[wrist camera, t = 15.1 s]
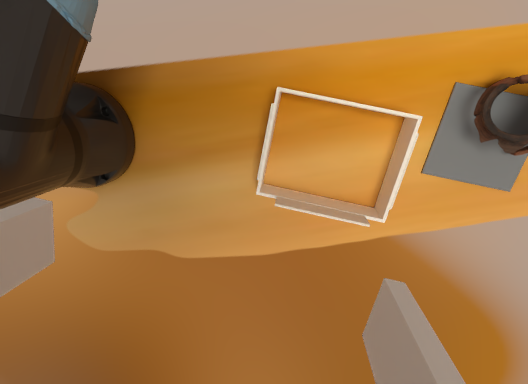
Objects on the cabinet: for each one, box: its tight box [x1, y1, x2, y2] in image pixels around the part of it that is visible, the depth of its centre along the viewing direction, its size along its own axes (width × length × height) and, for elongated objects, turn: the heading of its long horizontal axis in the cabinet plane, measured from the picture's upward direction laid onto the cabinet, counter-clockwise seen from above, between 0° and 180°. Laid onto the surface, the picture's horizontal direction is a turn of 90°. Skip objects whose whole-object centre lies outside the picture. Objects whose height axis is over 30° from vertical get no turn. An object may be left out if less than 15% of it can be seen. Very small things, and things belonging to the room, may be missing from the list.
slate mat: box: [421, 82, 528, 192], centre depth 38 cm, size 12×12×1 cm
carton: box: [256, 87, 423, 227], centre depth 37 cm, size 18×14×7 cm
